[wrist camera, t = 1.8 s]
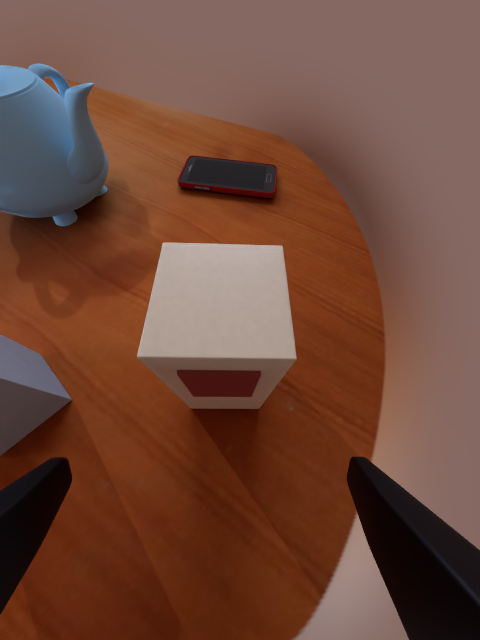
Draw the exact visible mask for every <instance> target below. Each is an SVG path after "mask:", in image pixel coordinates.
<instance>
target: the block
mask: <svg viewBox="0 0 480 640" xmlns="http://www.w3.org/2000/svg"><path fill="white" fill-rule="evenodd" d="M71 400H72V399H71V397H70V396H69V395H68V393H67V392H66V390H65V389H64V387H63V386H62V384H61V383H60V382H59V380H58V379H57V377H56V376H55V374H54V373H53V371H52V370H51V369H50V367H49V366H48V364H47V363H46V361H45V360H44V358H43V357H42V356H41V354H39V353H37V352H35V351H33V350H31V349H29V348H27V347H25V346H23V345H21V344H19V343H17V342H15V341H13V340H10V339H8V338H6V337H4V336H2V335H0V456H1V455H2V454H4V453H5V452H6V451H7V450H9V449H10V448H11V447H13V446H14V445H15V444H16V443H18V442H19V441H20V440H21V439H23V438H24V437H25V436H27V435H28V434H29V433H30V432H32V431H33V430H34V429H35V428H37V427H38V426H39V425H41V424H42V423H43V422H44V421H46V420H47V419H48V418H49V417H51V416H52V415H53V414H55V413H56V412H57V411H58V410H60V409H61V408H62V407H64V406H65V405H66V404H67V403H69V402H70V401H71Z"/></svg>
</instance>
